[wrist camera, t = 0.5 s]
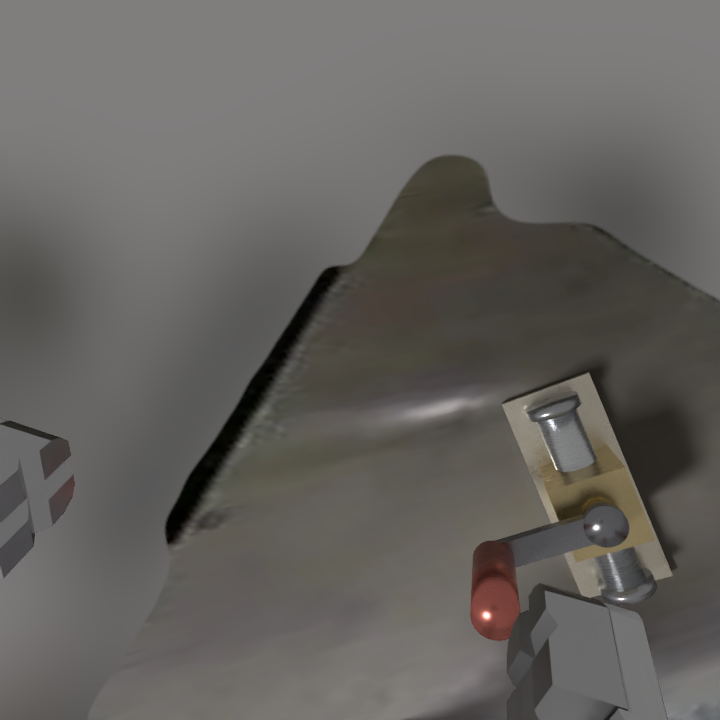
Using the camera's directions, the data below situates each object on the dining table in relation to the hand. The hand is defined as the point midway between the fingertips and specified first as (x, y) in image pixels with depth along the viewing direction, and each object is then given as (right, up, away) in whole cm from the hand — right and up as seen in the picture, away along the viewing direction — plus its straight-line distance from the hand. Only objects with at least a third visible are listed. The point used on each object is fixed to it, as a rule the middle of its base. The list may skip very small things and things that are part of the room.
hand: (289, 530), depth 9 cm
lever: (+18, -13, +39) cm, 45 cm away
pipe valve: (+24, -10, +47) cm, 54 cm away
